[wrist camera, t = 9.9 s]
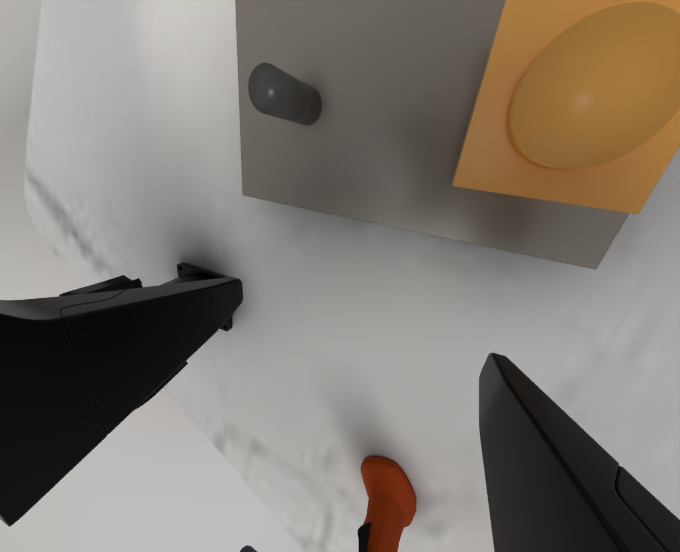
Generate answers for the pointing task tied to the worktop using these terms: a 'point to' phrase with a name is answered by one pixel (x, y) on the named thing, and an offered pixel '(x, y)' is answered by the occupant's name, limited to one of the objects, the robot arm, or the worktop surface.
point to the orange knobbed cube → (577, 103)
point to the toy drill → (383, 506)
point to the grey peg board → (387, 122)
